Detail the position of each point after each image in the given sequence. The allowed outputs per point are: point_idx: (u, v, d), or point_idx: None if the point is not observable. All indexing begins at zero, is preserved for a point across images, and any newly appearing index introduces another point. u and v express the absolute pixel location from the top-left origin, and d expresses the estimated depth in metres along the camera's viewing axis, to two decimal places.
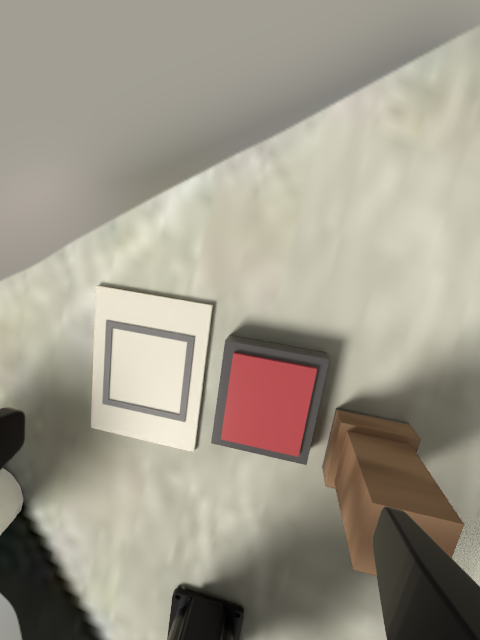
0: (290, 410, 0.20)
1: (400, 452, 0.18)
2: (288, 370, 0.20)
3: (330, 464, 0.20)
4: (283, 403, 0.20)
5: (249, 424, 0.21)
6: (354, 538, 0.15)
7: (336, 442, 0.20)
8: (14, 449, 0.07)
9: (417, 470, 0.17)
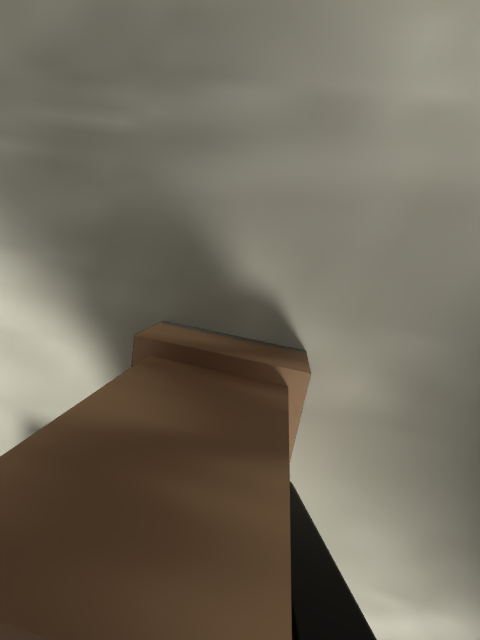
0: None
1: None
2: None
3: None
4: None
5: None
6: None
7: None
8: None
9: None
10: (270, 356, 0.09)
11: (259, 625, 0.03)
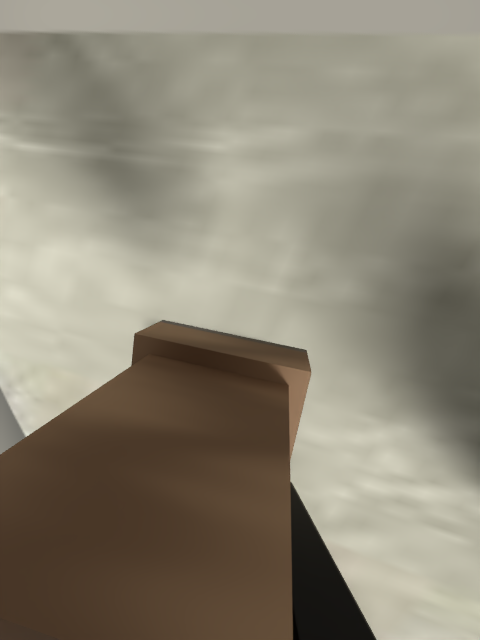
0: None
1: None
2: None
3: None
4: None
5: None
6: None
7: None
8: None
9: None
10: (270, 355, 0.09)
11: (260, 622, 0.03)
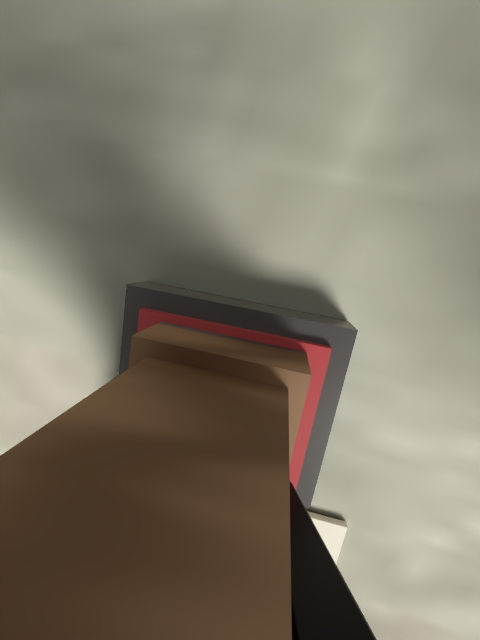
0: None
1: None
2: None
3: None
4: None
5: None
6: None
7: None
8: None
9: None
10: (270, 357, 0.08)
11: None
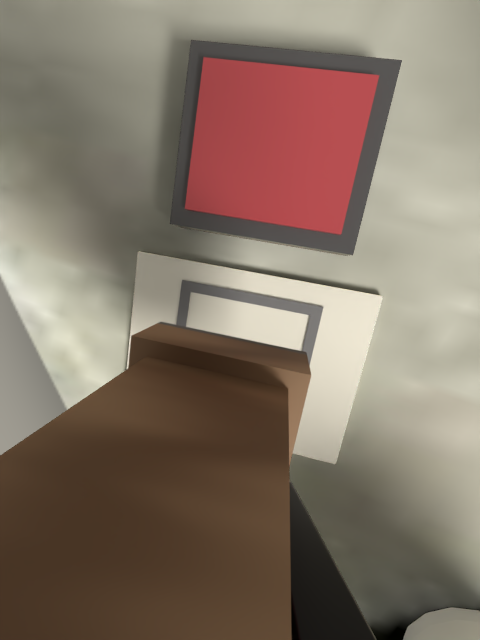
0: (282, 101, 0.11)
1: None
2: (208, 110, 0.12)
3: None
4: (268, 115, 0.11)
5: (310, 179, 0.12)
6: None
7: None
8: None
9: None
10: (270, 357, 0.08)
11: None
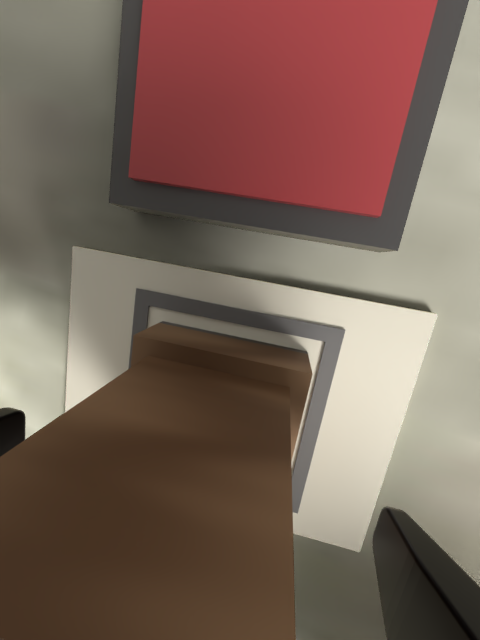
0: None
1: None
2: (160, 9, 0.07)
3: None
4: (259, 13, 0.07)
5: (330, 123, 0.07)
6: None
7: None
8: None
9: None
10: (271, 356, 0.08)
11: (262, 637, 0.03)
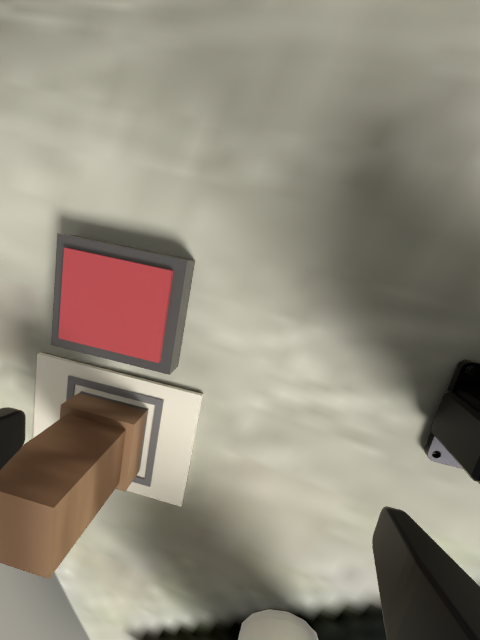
0: (114, 279, 0.17)
1: None
2: (69, 279, 0.18)
3: None
4: (106, 286, 0.17)
5: (136, 327, 0.18)
6: None
7: None
8: (14, 449, 0.07)
9: None
10: (123, 414, 0.19)
11: (56, 496, 0.13)
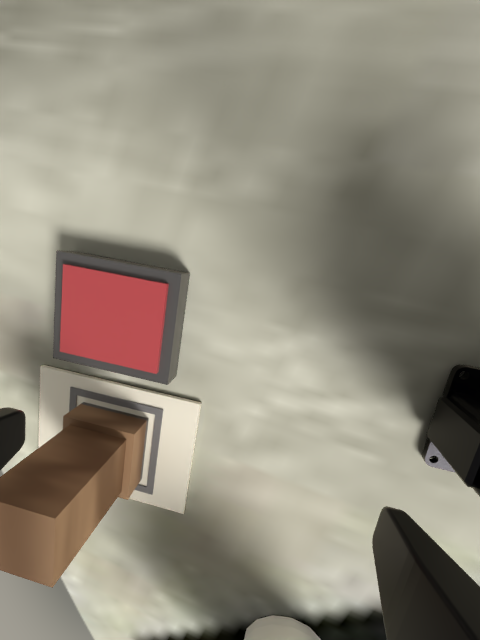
0: (112, 293, 0.18)
1: None
2: (68, 294, 0.18)
3: None
4: (104, 300, 0.18)
5: (134, 339, 0.18)
6: None
7: None
8: (14, 449, 0.07)
9: None
10: (123, 424, 0.20)
11: (58, 507, 0.14)
